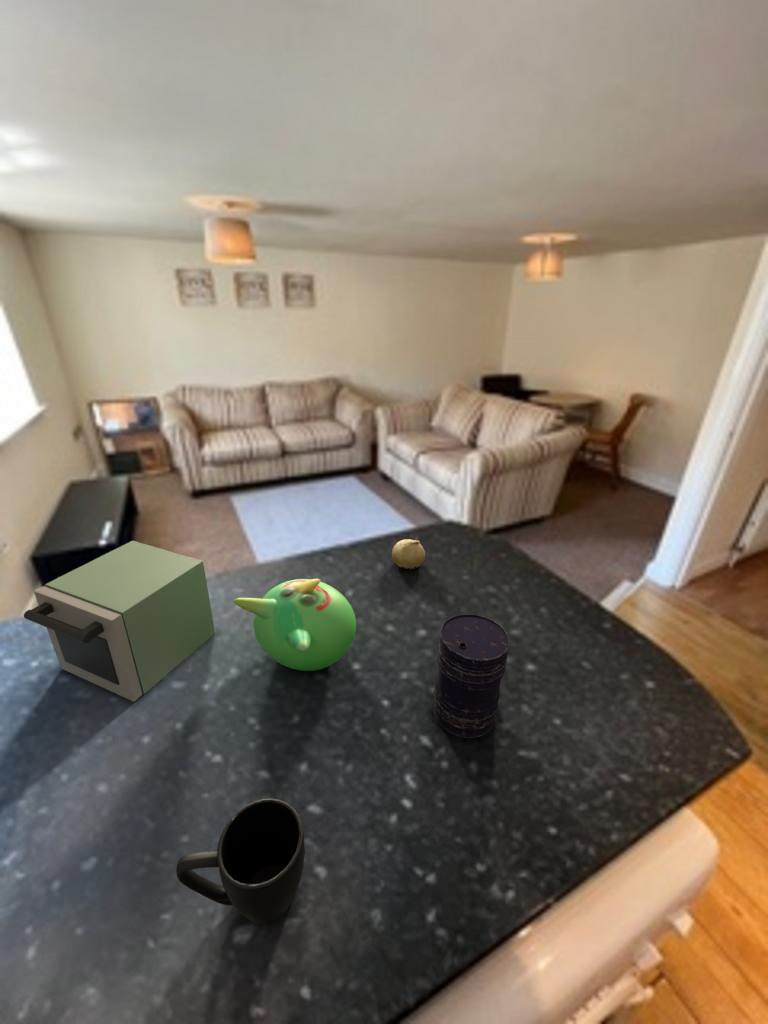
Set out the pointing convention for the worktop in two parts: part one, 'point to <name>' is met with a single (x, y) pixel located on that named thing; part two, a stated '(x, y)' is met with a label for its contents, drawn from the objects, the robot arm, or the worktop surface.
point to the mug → (253, 862)
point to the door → (88, 641)
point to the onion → (408, 554)
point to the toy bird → (302, 623)
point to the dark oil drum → (469, 674)
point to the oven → (148, 603)
